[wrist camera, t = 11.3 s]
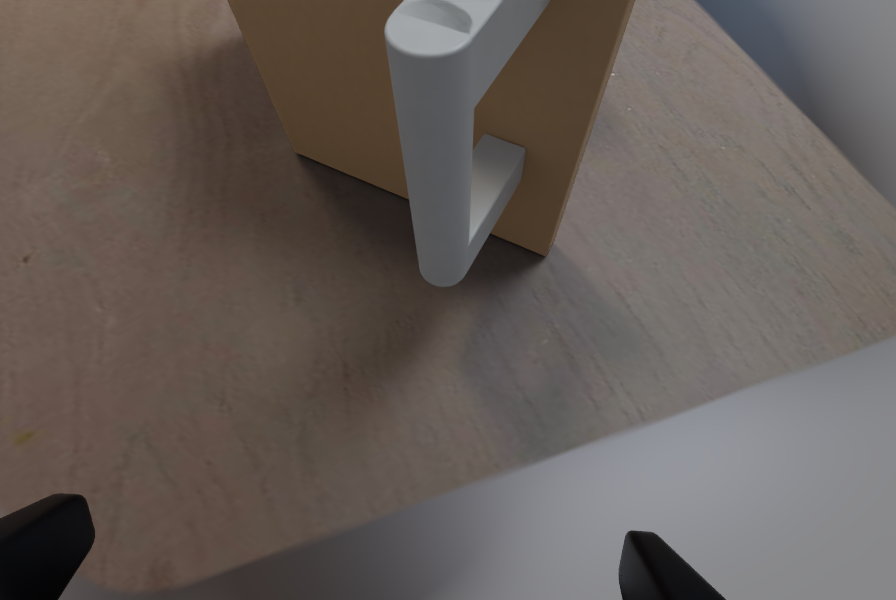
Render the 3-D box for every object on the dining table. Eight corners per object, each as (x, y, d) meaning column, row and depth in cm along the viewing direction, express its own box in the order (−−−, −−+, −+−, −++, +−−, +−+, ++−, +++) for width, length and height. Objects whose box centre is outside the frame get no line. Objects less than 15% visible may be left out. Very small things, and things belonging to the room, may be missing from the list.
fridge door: (493, 360, 18) (553, 81, 7) (223, 229, 21) (-45, -111, 10) (554, 240, 20) (672, -111, 9) (305, 138, 23) (165, -215, 12)
